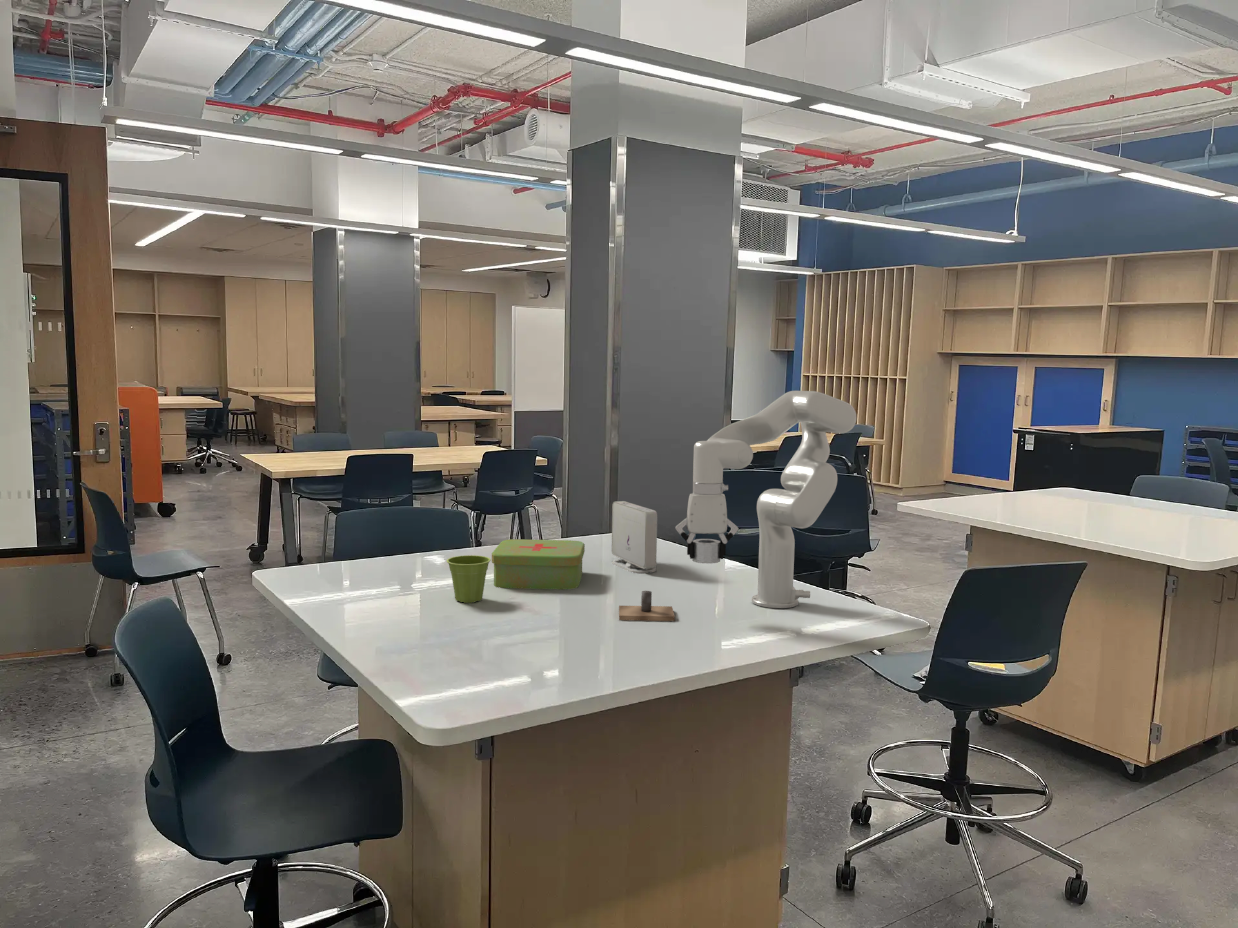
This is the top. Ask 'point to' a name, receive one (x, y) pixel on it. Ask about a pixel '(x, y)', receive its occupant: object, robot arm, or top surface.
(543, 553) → the first aid kit
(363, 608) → the top surface
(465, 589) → the plant pot
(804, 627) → the top surface
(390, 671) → the top surface
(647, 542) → the network device
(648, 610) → the post block
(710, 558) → the steel ring
